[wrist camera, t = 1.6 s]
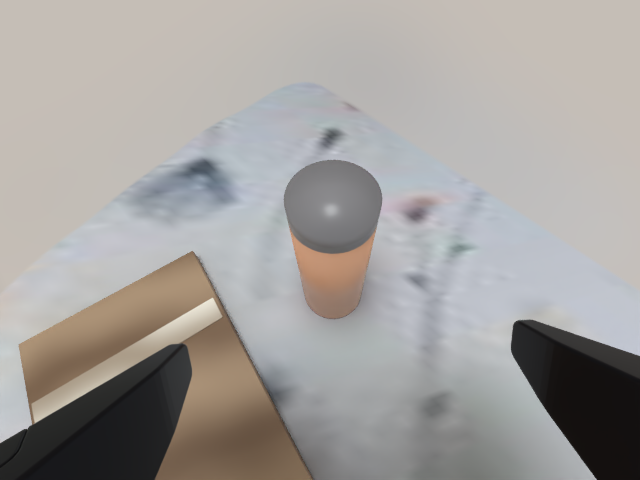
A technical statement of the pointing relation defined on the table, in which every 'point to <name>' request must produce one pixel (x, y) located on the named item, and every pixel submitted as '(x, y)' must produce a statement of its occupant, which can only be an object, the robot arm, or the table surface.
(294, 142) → the table surface
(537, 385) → the robot arm
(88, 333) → the board
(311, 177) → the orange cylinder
